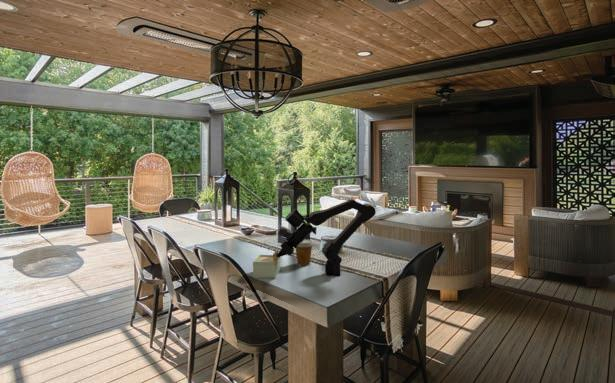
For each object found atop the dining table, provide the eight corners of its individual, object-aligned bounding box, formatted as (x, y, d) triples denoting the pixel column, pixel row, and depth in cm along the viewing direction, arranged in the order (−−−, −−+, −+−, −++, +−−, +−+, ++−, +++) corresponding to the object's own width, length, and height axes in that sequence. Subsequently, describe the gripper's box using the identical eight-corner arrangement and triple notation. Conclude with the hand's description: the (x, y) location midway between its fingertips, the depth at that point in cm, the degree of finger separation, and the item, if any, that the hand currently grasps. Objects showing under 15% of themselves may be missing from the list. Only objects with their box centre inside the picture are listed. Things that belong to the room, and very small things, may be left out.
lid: (279, 258, 179) (279, 250, 179) (274, 264, 170) (274, 255, 170) (261, 258, 180) (261, 249, 180) (256, 263, 171) (255, 254, 171)
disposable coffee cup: (316, 263, 192) (316, 240, 191) (303, 268, 185) (303, 244, 184) (303, 260, 199) (303, 238, 197) (290, 264, 192) (290, 241, 190)
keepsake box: (279, 270, 181) (279, 255, 180) (274, 278, 169) (274, 262, 169) (259, 269, 182) (259, 254, 182) (253, 277, 171) (253, 261, 170)
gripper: (291, 217, 181) (269, 239, 184) (285, 225, 163) (260, 249, 165) (308, 234, 181) (285, 255, 183) (303, 243, 163) (278, 267, 165)
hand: (277, 256), depth 174 cm, fingers closed, pressing on lid
